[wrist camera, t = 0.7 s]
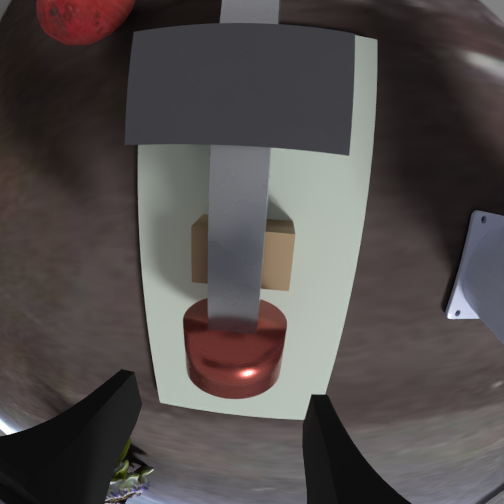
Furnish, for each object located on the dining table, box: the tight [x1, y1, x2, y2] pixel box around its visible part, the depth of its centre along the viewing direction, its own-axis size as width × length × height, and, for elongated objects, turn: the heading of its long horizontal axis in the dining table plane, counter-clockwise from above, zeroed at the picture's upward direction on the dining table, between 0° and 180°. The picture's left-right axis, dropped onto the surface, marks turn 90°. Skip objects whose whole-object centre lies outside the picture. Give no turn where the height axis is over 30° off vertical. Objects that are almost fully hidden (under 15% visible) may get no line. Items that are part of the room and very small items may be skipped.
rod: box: [183, 0, 287, 399], centre depth 12 cm, size 5×21×5 cm, turn 177°
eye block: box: [125, 23, 355, 156], centre depth 12 cm, size 7×4×7 cm, turn 87°
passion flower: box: [105, 437, 154, 504], centre depth 25 cm, size 11×11×12 cm
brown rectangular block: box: [191, 214, 295, 291], centre depth 16 cm, size 5×3×2 cm, turn 87°
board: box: [138, 35, 377, 420], centre depth 18 cm, size 13×27×1 cm, turn 177°
